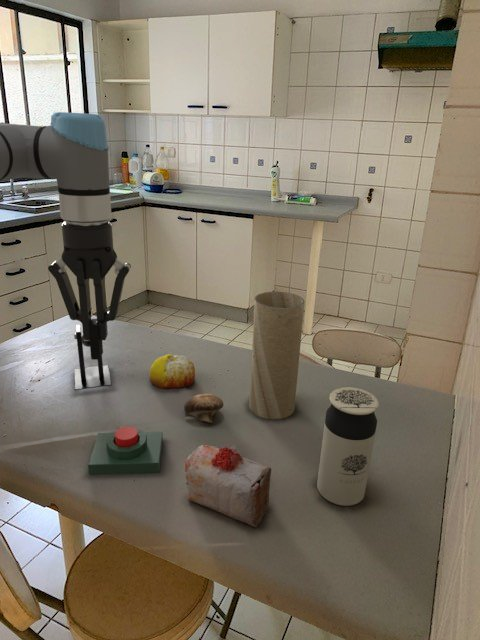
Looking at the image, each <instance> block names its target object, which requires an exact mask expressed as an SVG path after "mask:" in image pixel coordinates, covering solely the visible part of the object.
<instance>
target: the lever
mask: <svg viewBox="0 0 480 640" xmlns="http://www.w3.org/2000/svg"><path fill="white" fill-rule="evenodd" d="M82 344H83V347H86V348H90V340H85V339H84V338H83V335H82Z"/></svg>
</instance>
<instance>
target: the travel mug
mask: <svg viewBox="0 0 480 640" xmlns="http://www.w3.org/2000/svg"><path fill="white" fill-rule="evenodd" d="M329 402H330V406H329V407H328V408H327V410H325V411H326V412H325V419H324V425H323V433H322V443H321V451H320V458H319V465H318V474H317V481H316V482H317V483H316V486H317V491H318V492H319V494H320V495H321V496H322V497H323V498H324V499H325V500H327V501H328V502H330V503H332V504H335V505H338V506H345V507H346V506H349V507H350V506H354V505H357V504H359V503H361V501H363V499H364V498H365V494H366V488H367V483H368V477H369V471H370V466H371V459H372V454H373V450H374V449H373V447H374V443H375V437H376V432H377V425H378V418H377V416H376V413H375V412H376V411H377V410H378V409H379V407H380V406H379V400H378V399H377V398H376V396H374V395H373V394H372V393H371V392H369V391H367V390H364V389H361V388H357V387H350V386H349V387H348V386H345V387H338V388H336V389H334V390H332V391H331V393H330V394H329Z"/></svg>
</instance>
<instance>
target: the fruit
mask: <svg viewBox="0 0 480 640" xmlns="http://www.w3.org/2000/svg"><path fill="white" fill-rule="evenodd" d="M195 378H196V369H195V365H194V362H192V361H191V360H190V358H189V357H187V356H186V355H181V354H179V355H178V354H172V353H168V354H165V355H163V356H159V357H157V358H156V359H155V360H154V362H152V364H151V366H150V369H149V381H150V383H151V384H152V385H153V386H155V387H157V388H158V389H163V390H165V389H180V388H183V387H185V388H188V387H189V386H191V385H192V384H193V383H194V382H195Z"/></svg>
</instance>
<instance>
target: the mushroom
mask: <svg viewBox="0 0 480 640" xmlns="http://www.w3.org/2000/svg"><path fill="white" fill-rule="evenodd" d="M183 407H184V408H183V410H184V413H185V414H186V415H187V416H188V415H189V416H193V417H196V418H197V420H198V421H200V422H204V423H208V424H214V422H213V416H214V414H215V413H216V412H218V411H220V410H222V409H223V407H224V400H223V399H222V398H221V397H220V396H218V395H216V394H213V393H200V394H196V395H193V396H191V397H190V398H188V399H187V400H186V402H185V404H184V406H183Z"/></svg>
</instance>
